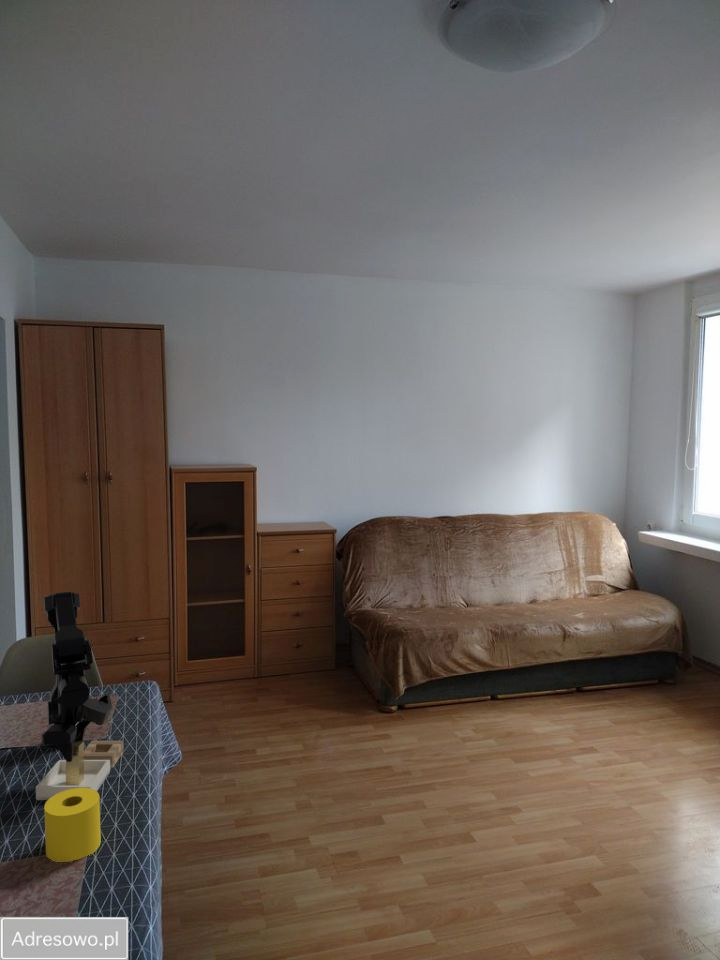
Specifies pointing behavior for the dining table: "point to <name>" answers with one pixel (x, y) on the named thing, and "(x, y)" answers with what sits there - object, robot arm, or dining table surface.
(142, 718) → the dining table surface
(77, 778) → the pin
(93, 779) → the tray
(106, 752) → the block
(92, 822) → the yellow toilet paper roll
